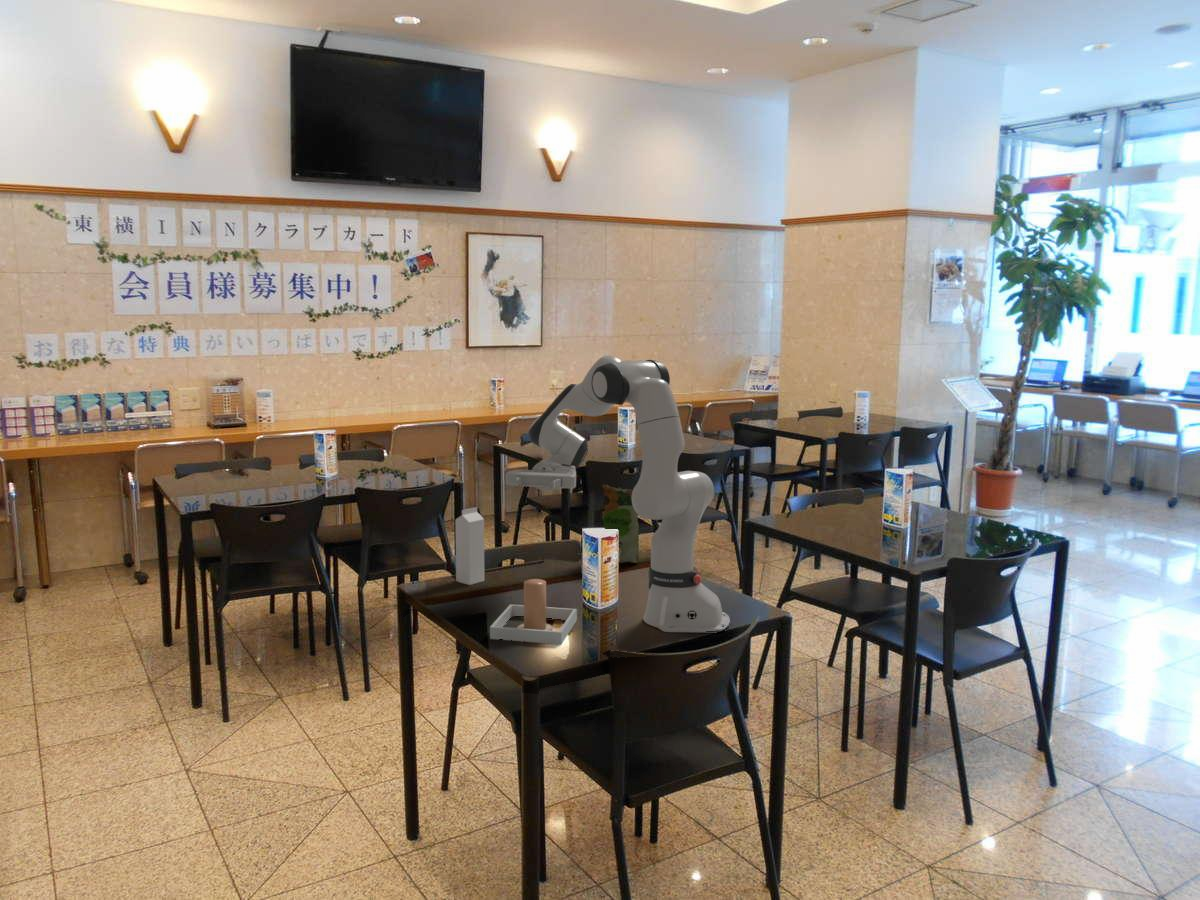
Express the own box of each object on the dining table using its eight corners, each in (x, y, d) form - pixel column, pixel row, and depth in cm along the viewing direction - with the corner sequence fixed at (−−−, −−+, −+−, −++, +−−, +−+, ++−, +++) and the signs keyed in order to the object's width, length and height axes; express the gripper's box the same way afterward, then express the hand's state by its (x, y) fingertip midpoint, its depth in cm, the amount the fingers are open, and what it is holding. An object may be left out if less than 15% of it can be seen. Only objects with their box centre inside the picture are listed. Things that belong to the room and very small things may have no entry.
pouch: (639, 567, 291) (640, 489, 287) (601, 567, 291) (602, 489, 287) (637, 557, 302) (638, 482, 298) (600, 557, 302) (601, 482, 298)
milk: (484, 581, 275) (484, 508, 272) (469, 585, 270) (469, 511, 267) (470, 576, 279) (470, 505, 275) (455, 581, 274) (455, 508, 271)
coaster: (556, 624, 238) (556, 623, 238) (547, 636, 229) (547, 635, 229) (522, 622, 240) (522, 620, 240) (512, 633, 231) (512, 632, 231)
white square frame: (576, 620, 242) (576, 609, 241) (561, 644, 224) (561, 632, 224) (510, 615, 245) (510, 604, 244) (489, 638, 227) (489, 627, 227)
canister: (548, 625, 237) (548, 579, 235) (543, 632, 231) (543, 586, 229) (527, 623, 238) (527, 578, 236) (521, 631, 232) (521, 584, 230)
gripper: (512, 463, 272) (498, 471, 258) (580, 466, 268) (570, 474, 255) (512, 484, 273) (498, 493, 259) (580, 487, 269) (570, 497, 256)
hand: (534, 484), depth 257 cm, fingers open, 8 cm apart
